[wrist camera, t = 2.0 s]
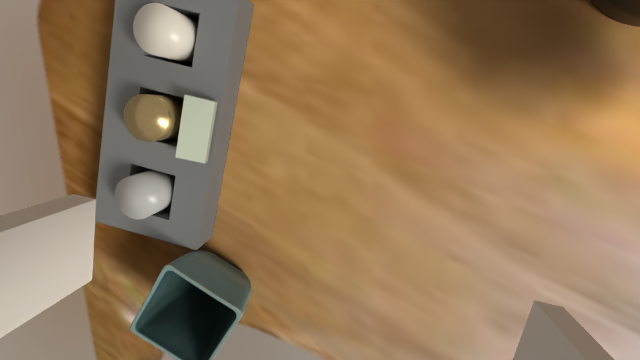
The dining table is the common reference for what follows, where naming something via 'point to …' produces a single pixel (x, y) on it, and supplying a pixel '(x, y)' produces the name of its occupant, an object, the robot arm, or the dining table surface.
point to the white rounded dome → (144, 193)
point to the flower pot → (193, 306)
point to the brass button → (153, 117)
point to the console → (138, 156)
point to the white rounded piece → (165, 32)
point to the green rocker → (196, 128)
